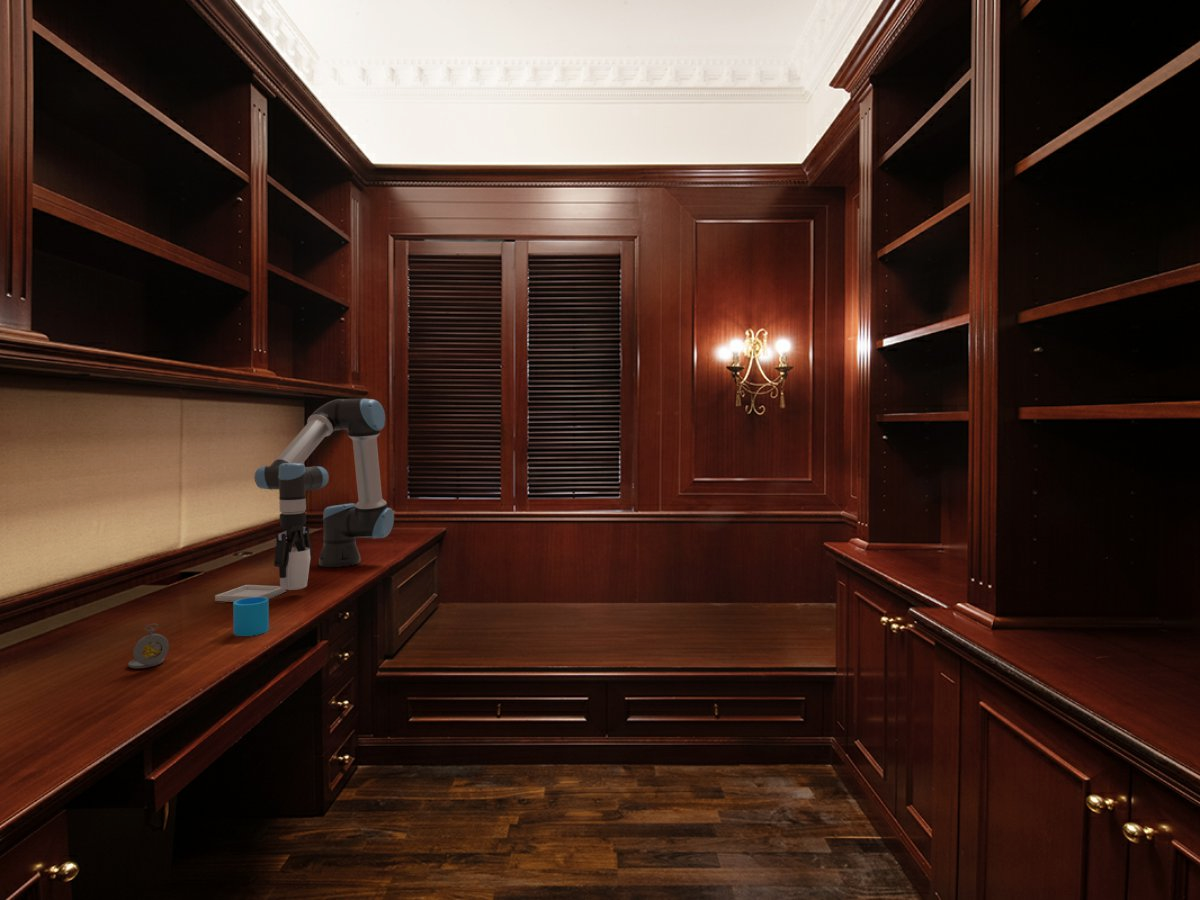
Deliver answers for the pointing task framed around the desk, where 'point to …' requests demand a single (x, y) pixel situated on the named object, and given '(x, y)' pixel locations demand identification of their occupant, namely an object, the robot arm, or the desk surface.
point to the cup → (298, 568)
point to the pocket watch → (154, 644)
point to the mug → (251, 616)
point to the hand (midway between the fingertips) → (294, 583)
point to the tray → (250, 592)
